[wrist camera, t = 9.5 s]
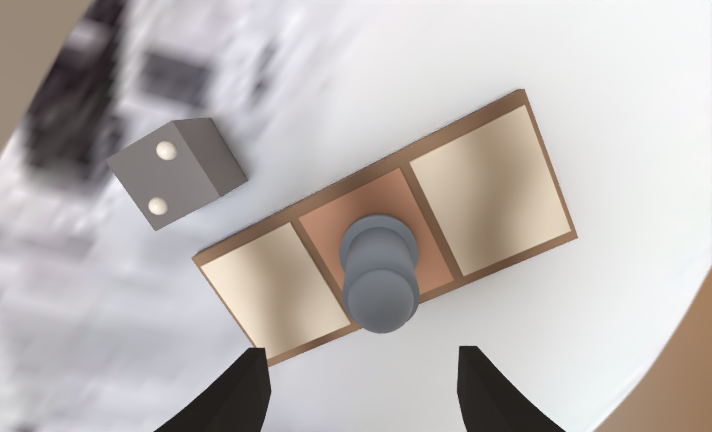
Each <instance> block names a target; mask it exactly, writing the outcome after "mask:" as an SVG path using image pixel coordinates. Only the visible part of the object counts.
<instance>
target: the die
mask: <svg viewBox="0 0 712 432" xmlns="http://www.w3.org/2000/svg"><path fill="white" fill-rule="evenodd" d="M105 161H106V163H107V164H108V165H109V167H110V168H111V170H112V171H113V172H114V174H115V175H116V177H117V178H118V180H119V181H120V182H121V184H122V185H123V187H124V188H125V189H126V191H127V192H128V194H129V195H130V196H131V198H132V199H133V201H134V202H135V203H136V205H137V206H138V208H139V209H140V210H141V212H142V213H143V215H144V216H145V218H146V219H147V220H148V222H149V223H150V225H151V226H152V227H153V229H154V230H155V231H157V230H159V229H161V228H163V227H165V226H166V225H168V224H170V223H172V222H174V221H176V220H178V219H180V218H182V217H184V216H186V215H188V214H190V213H191V212H193V211H195V210H197V209H199V208H201V207H203V206H205V205H207V204H209V203H211V202H213V201H214V200H216V199H218V198H220V197H222V196H224V195H225V194H227V193H228V192H230V191H232V190H233V189H235V188H237V187H238V186H240V185H241V184H243V183H245V182H246V181H248V179H247V177H246V176H245V174H244V172H243V171H242V169H241V168H240V166H239V164H238V163H237V161H236V159H235V158H234V156H233V154H232V153H231V151H230V149H229V148H228V146H227V144H226V143H225V141H224V139H223V138H222V136H221V134H220V133H219V131H218V129H217V128H216V126H215V124H214V123H213V121H212V119H211V118H199V119H186V120H174V121H171V122H169V123H167V124H165V125H164V126H162V127H160V128H159V129H157V130H155V131H154V132H152V133H150V134H148V135H147V136H145V137H143V138H142V139H140V140H138V141H136V142H135V143H133V144H131V145H130V146H128V147H126V148H125V149H123V150H121V151H119V152H118V153H116V154H114V155H113V156H111V157H109V158H107V159H106V160H105Z"/></svg>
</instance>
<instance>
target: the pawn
mask: <svg viewBox="0 0 712 432" xmlns="http://www.w3.org/2000/svg"><path fill="white" fill-rule="evenodd" d="M339 259H340V264H341V267H342V269H343V271H344V273H345V276H344V283H343V289H342V302H343V306H344V308H345V310H346V312H347V314H348V315H349V316H350V317H351V318H352V319H353V320H354V321H355V322H356V323H358V324H359V325H360V326H362V327H363V328H364V329H366V330H368V331H371V332H374V333H389V332H392V331H395V330H397V329H399V328H400V327H401V326H403V325H404V324H405V322H407V321H408V320H409V319H410V318H411V317H412V316H413V315H414V313H415V312H416V310H417V307H418V305H419V300H420V291H419V286H418V283H417V279H416V275H415V271H414V270H415V268H416V265H417V262H418V248H417V244H416V241H415V238H414V235H413V233H412V231H411V230H410V228H409V227H408V226H407V225H406V224H405V223H404V222H403V221H402V220H400V219H399V218H397V217H395V216H392V215H389V214H384V213H372V214H368V215H365V216H362V217H360V218H358V219H357V220H355V221H354V222H353V223H352V224H350V226H349V227H348V228H347V229H346V231H345V233H344V235H343V237H342V241H341V245H340V251H339Z"/></svg>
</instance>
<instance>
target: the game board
mask: <svg viewBox="0 0 712 432" xmlns="http://www.w3.org/2000/svg"><path fill="white" fill-rule="evenodd" d="M372 213H384V214H389V215H392V216H395V217H397V218H399V219H400V220H402V221H403V222H404V223H405V224H406V225H407V226H408V227H409V228H410V230H411V231H412V233H413V235H414V238H415V241H416V244H417V248H418V262H417V265H416V268H415V270H414V271H415V275H416V279H417V283H418V286H419V291H420V300H419V304H421V303H423V302H426V301H428V300H430V299H433V298H435V297H438V296H440V295H442V294H445V293H447V292H450V291H452V290H454V289H457V288H459V287H462V286H464V285H466V284H469V283H471V282H474V281H476V280H478V279H481V278H483V277H486V276H488V275H490V274H493V273H495V272H497V271H500V270H502V269H505V268H507V267H509V266H512V265H514V264H517V263H519V262H521V261H524V260H526V259H529V258H531V257H533V256H536V255H538V254H541V253H543V252H545V251H548V250H550V249H553V248H555V247H557V246H560V245H562V244H564V243H567V242H569V241H572V240H574V239H576V238H578V236H577V233H576V230H575V228H574V225H573V222H572V219H571V217H570V214H569V211H568V208H567V206H566V203H565V200H564V197H563V195H562V192H561V189H560V186H559V183H558V181H557V178H556V175H555V172H554V170H553V167H552V164H551V161H550V159H549V156H548V153H547V150H546V148H545V145H544V142H543V139H542V136H541V134H540V131H539V128H538V125H537V123H536V120H535V117H534V114H533V112H532V109H531V106H530V103H529V101H528V98H527V95H526V92H525V89H520V90H516V91H514V92H512V93H511V94H509V95H507V96H505V97H503V98H501V99H499V100H497V101H495V102H493V103H491V104H489V105H487V106H485V107H483V108H481V109H479V110H477V111H475V112H473V113H471V114H469V115H467V116H465V117H463V118H461V119H460V120H458V121H456V122H454V123H452V124H450V125H448V126H446V127H444V128H442V129H440V130H438V131H436V132H434V133H432V134H430V135H428V136H426V137H424V138H422V139H420V140H418V141H416V142H414V143H412V144H410V145H408V146H407V147H405V148H403V149H401V150H399V151H397V152H395V153H393V154H391V155H389V156H387V157H385V158H383V159H381V160H379V161H377V162H375V163H373V164H371V165H369V166H367V167H365V168H363V169H361V170H359V171H357V172H356V173H354V174H352V175H350V176H348V177H346V178H344V179H342V180H340V181H338V182H336V183H334V184H332V185H330V186H328V187H326V188H324V189H322V190H320V191H318V192H316V193H314V194H312V195H310V196H308V197H306V198H304V199H303V200H301V201H299V202H297V203H295V204H293V205H291V206H289V207H287V208H285V209H283V210H281V211H279V212H277V213H275V214H273V215H271V216H269V217H267V218H265V219H263V220H261V221H259V222H257V223H255V224H253V225H251V226H250V227H248V228H246V229H244V230H242V231H240V232H238V233H236V234H234V235H232V236H230V237H228V238H226V239H224V240H222V241H220V242H218V243H216V244H214V245H212V246H210V247H208V248H206V249H204V250H202V251H200V252H199V253H197V254H196V255H195V256H193V257H192V258H191V259H192V260H193V261H194V263H195V264H196V266H197V267H198V268H199V270H200V271H201V273H202V274H203V276H204V277H205V278H206V280H207V281H208V283H209V284H210V285H211V287H212V288H213V290H214V291H215V292H216V294H217V295H218V297H219V298H220V300H221V301H222V302H223V304H224V305H225V307H226V308H227V309H228V311H229V312H230V314H231V315H232V316H233V318H234V319H235V321H236V322H237V324H238V325H239V326H240V328H241V329H242V331H243V332H244V333H245V335H246V336H247V338H248V339H249V340H250V342H251V343H252V345H253V346H254V348H265V351H266V358H267V365H268V367H270V366H273V365H275V364H277V363H280V362H282V361H284V360H287V359H289V358H292V357H294V356H296V355H299V354H301V353H304V352H306V351H308V350H311V349H313V348H316V347H318V346H320V345H323V344H325V343H328V342H330V341H332V340H335V339H337V338H340V337H342V336H344V335H347V334H349V333H351V332H354V331H356V330H359V329H361V328H363V327H362V326H360V325H359V324H358V323H356V322H355V321H354V320H353V319H352V318H351V317H350V316H349V315H348V314H347V312H346V310H345V308H344V306H343V302H342V289H343V283H344V276H345V273H344V271H343V269H342V267H341V264H340V259H339V251H340V245H341V241H342V237H343V235H344V233H345V231H346V229H347V228H348V227H349V226H350V224H352V223H353V222H354V221H355V220H357V219H358V218H360V217H362V216H365V215H368V214H372Z"/></svg>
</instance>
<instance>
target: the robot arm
mask: <svg viewBox="0 0 712 432" xmlns="http://www.w3.org/2000/svg"><path fill="white" fill-rule="evenodd" d="M457 394H458V399H459V403H460V408H461V412H462V417H463V421H464V424H465V427H466V430H467V432H565V431H564V430H563V429H562V428H560V427H559V426H558V425H557V424H555V423H554V422H553V421H552V420H550V419H549V418H548V417H547V416H546V415H545V414H543V413H542V412H541V411H540V410H539V409H538V408H537V407H535V406H534V405H533V404H532V403H531V402H530V401H529V400H528V399H527V398H526V397H525V396H524V395H523V394H522V393H521V392H520V391H519V390H518V389H517V388H516V387H515V386H514V385H513V384H512V383H511V382H510V381H509V380H508V379H507V378H506V377H505V376H504V375H503V374H502V373H501V372H500V371H499V370H498V369H497V368H496V367H495V366H494V364H493V363H492V362H491V361H490V360H489V359H488V358H487V357H486V356H485V355H484V353H483V352H482V351H481V350H480V349H479V348H478V347H477V346H459V362H458V380H457ZM270 395H271V385H270V378H269V371H268V365H267V358H266V351H265V348H248V349H247V350H246V351H245V352H244V353H243V354H242V355H241V356H240V357H239V358H238V359H237V360H236V361H235V362H234V363H233V364H232V365H231V366H230V367H229V368H228V369H227V370H226V371H225V372H224V373H223V374H222V375H221V376H220V377H219V378H217V379H216V380H215V381H214V382H213V383H212V384H211V385H210V386H209V387H208V388H207V389H206V390H205V391H203V392H202V393H201V394H200V395H199V396H198V397H197V398H195V399H194V400H193V401H192V402H191V403H190V404H189V405H187V406H186V407H185V408H184V409H183V410H181V411H180V412H179V413H178V414H176V415H175V416H174V417H173V418H171V419H170V420H169V421H167V422H166V423H165V424H163V425H162V426H161V427H159V428H158V429H157V430H155V431H154V432H260V431H261V428H262V425H263V422H264V420H265V416H266V412H267V408H268V404H269V400H270Z"/></svg>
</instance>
